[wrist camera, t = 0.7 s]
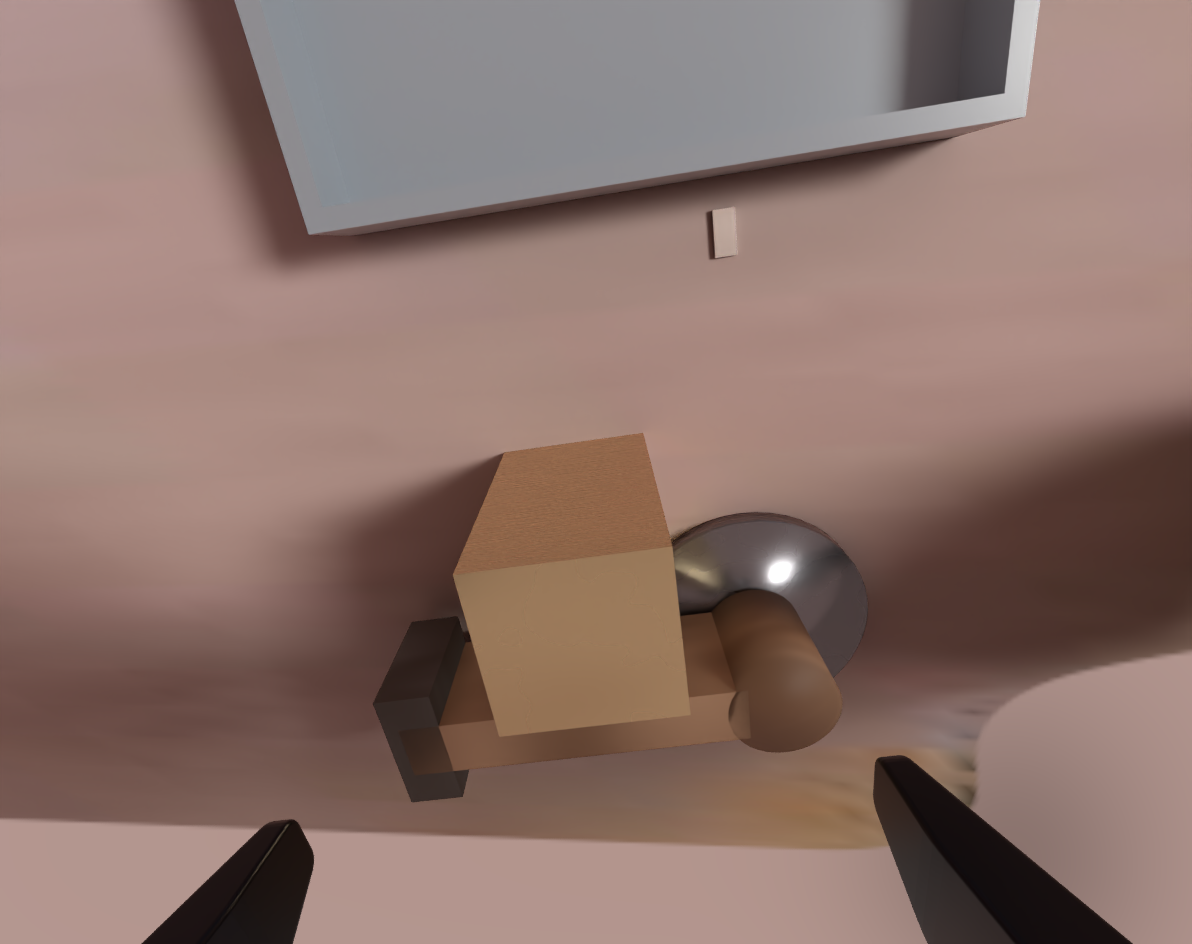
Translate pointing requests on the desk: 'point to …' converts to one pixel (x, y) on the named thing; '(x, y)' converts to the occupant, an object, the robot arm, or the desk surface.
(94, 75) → the desk surface
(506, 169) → the stop tray
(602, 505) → the stop block
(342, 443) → the desk surface
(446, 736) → the crank lever
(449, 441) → the desk surface
